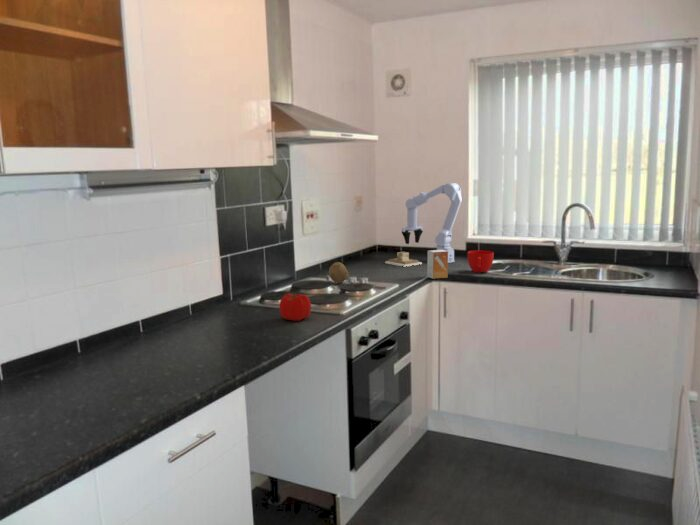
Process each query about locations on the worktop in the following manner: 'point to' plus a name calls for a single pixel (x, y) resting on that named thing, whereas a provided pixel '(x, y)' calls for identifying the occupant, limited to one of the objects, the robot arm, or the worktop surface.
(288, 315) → the tomato
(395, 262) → the keyed base
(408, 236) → the robot arm
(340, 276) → the coconut
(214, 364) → the worktop surface
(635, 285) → the worktop surface
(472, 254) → the ceramic cup
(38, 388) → the worktop surface
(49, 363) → the worktop surface
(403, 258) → the flange block
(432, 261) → the small box
